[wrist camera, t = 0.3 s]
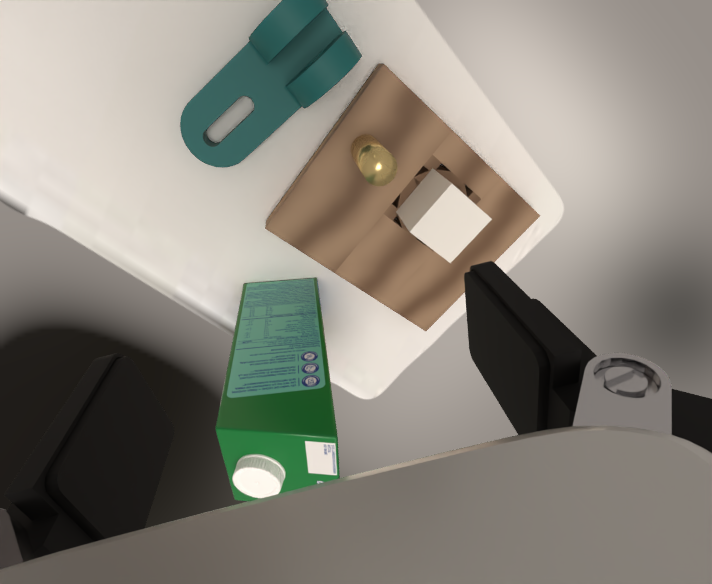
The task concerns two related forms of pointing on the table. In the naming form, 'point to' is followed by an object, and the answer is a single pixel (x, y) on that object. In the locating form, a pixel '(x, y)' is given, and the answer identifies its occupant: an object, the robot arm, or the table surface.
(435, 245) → the cream cube
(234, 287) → the table surface
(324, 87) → the bracket
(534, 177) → the table surface
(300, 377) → the milk carton
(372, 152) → the brass pin
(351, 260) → the walnut board
